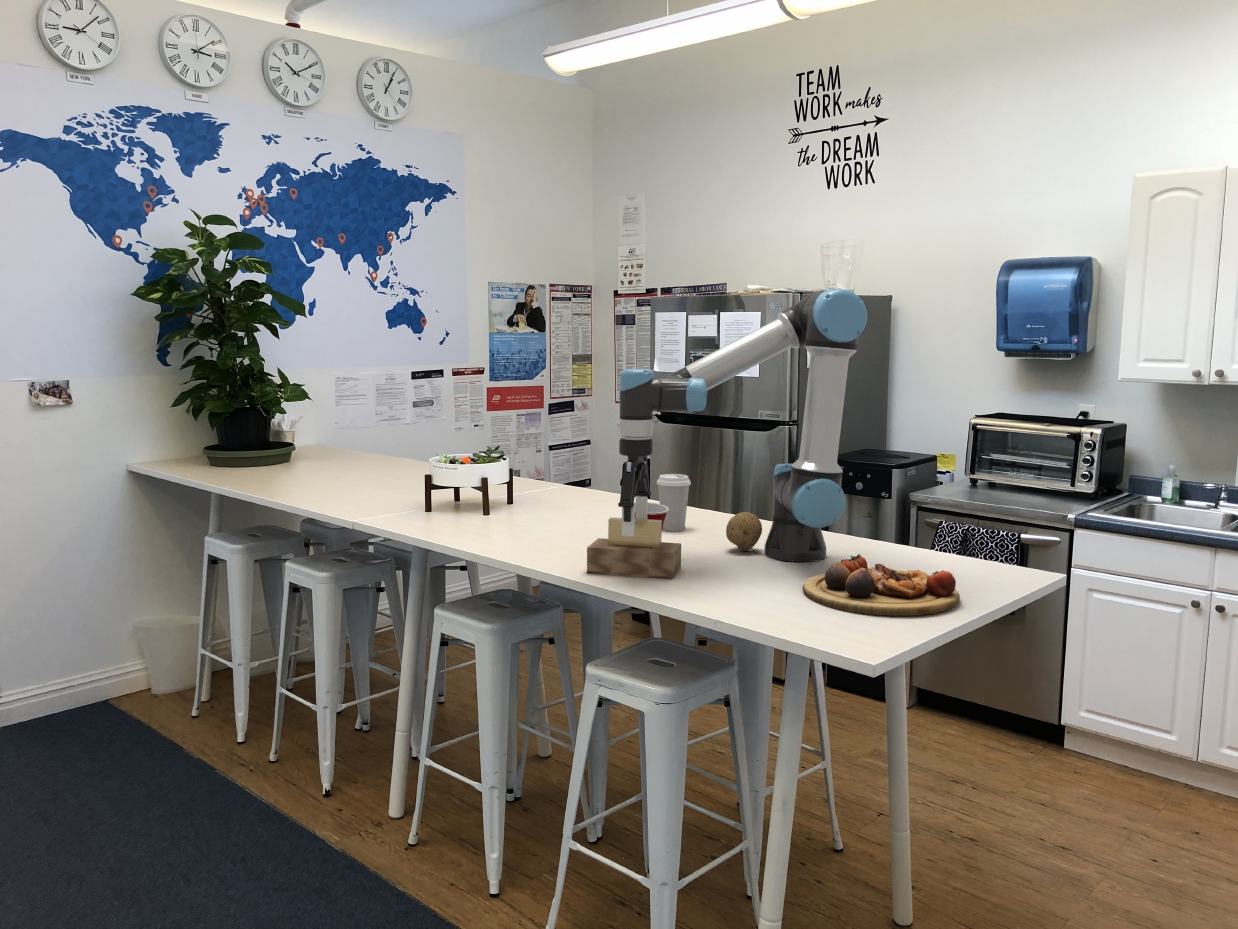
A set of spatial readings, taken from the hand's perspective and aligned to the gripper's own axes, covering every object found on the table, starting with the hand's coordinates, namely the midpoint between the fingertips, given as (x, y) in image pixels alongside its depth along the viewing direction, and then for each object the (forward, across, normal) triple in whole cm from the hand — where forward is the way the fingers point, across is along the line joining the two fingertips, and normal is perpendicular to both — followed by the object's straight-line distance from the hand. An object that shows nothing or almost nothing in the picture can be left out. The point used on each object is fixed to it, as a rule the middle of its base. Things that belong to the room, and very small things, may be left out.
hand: (634, 529), depth 220 cm
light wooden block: (+9, 0, 0) cm, 9 cm away
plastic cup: (+10, -18, -1) cm, 21 cm away
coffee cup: (+10, -48, 0) cm, 49 cm away
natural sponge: (+10, -27, +22) cm, 36 cm away
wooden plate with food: (+10, +6, +55) cm, 56 cm away
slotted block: (+10, 0, 0) cm, 10 cm away
